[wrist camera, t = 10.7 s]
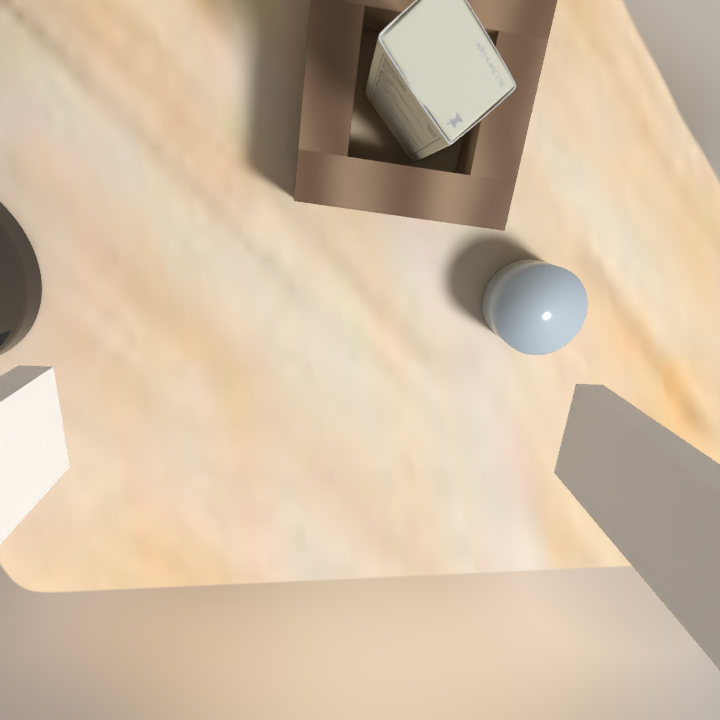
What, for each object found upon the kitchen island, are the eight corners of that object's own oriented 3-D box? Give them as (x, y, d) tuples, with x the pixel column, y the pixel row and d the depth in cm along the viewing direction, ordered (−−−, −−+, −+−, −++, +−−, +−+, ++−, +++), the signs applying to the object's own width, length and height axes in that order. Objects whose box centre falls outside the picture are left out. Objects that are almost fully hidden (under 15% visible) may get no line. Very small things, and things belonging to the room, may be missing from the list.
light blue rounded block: (473, 335, 40) (489, 350, 36) (491, 253, 38) (510, 260, 34) (550, 344, 41) (572, 359, 37) (572, 264, 39) (599, 272, 35)
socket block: (297, 200, 35) (293, 200, 31) (318, -40, 30) (316, -73, 27) (486, 226, 37) (504, 230, 33) (534, 3, 32) (562, -22, 28)
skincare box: (458, 124, 34) (524, 89, 23) (410, 165, 35) (451, 150, 24) (407, 46, 32) (452, -36, 21) (358, 90, 33) (375, 35, 22)
